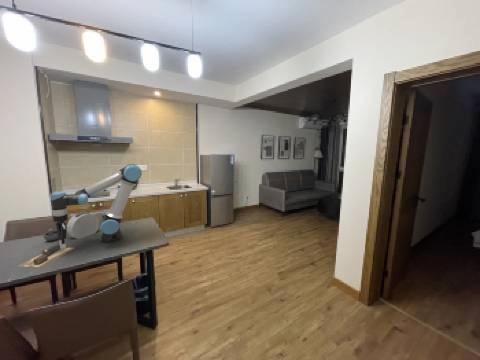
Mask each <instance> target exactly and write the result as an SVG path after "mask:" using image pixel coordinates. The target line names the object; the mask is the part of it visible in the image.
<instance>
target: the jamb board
mask: <svg viewBox="0 0 480 360" xmlns="http://www.w3.org/2000/svg"><path fill="white" fill-rule="evenodd" d="M75 249H76V247H65V248H62V249H60V250H58V251H56V252H54V253H52V254H51V255H50V256H47V255H42V253H40V254H38V255H36V256H35V257H32V258H31V259H28V260H27V261H24V262H22V263H20V264H18V267H21V268H23V267H24V268H25V267H27V268H28V267H29V268H44V267H46V266H47V265H50V264H51V263H53V262H54V261H56V260H57V259H59V258H61V257H63V256H65V255H66V254H68V253H69V252H71V251H73V250H75Z"/></svg>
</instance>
